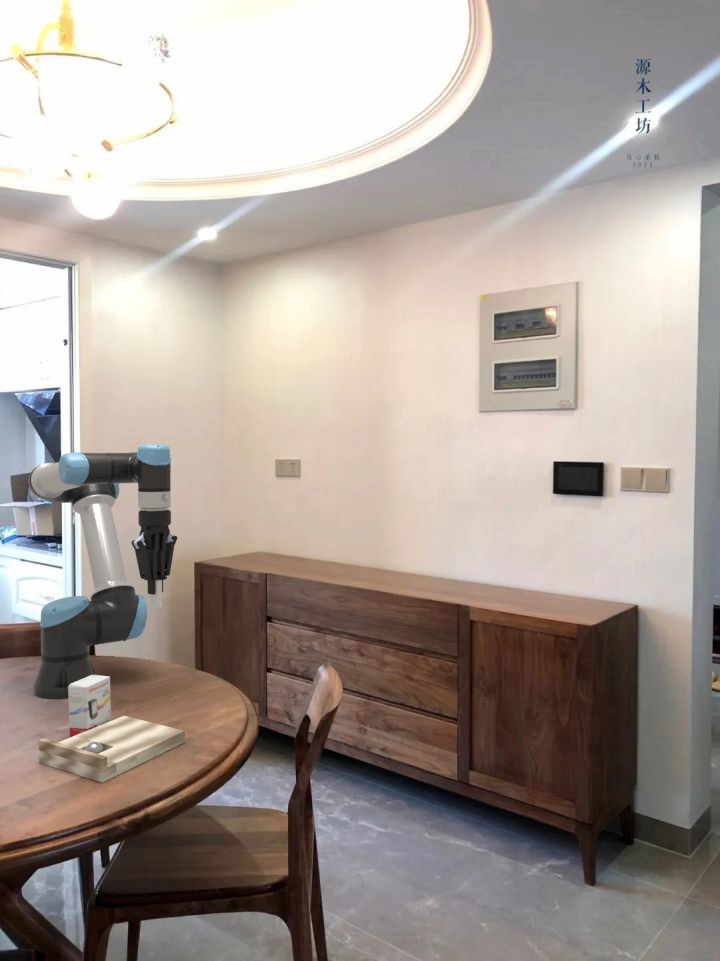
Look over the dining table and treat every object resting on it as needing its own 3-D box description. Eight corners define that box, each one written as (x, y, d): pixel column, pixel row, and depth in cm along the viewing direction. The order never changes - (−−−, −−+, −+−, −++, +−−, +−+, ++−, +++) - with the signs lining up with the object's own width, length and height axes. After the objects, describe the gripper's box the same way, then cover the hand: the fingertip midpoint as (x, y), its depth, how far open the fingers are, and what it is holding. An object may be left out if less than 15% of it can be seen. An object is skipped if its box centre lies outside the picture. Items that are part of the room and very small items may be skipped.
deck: (39, 762, 147) (38, 740, 147) (124, 726, 166) (124, 706, 166) (102, 782, 138) (102, 758, 138) (184, 742, 158) (184, 721, 157)
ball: (78, 759, 147) (82, 740, 148) (93, 757, 150) (97, 739, 151) (90, 764, 145) (93, 745, 146) (105, 762, 148) (108, 743, 149)
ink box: (87, 742, 158) (86, 687, 157) (67, 739, 159) (66, 685, 159) (112, 727, 166) (112, 675, 165) (93, 725, 167) (92, 673, 167)
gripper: (145, 511, 170) (146, 613, 171) (185, 507, 181) (186, 603, 182) (122, 510, 173) (123, 610, 174) (162, 506, 185) (163, 600, 186)
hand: (155, 606), depth 178 cm, fingers closed
